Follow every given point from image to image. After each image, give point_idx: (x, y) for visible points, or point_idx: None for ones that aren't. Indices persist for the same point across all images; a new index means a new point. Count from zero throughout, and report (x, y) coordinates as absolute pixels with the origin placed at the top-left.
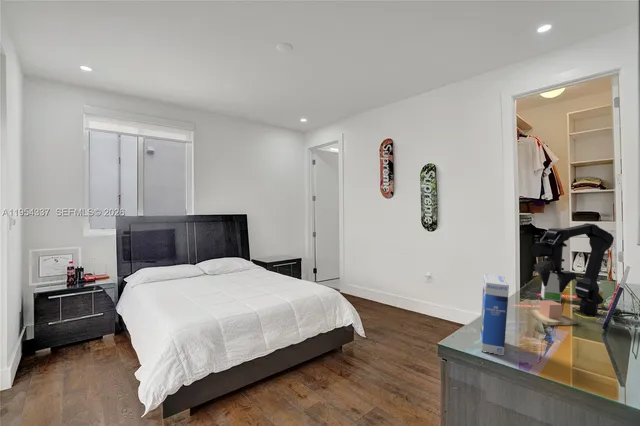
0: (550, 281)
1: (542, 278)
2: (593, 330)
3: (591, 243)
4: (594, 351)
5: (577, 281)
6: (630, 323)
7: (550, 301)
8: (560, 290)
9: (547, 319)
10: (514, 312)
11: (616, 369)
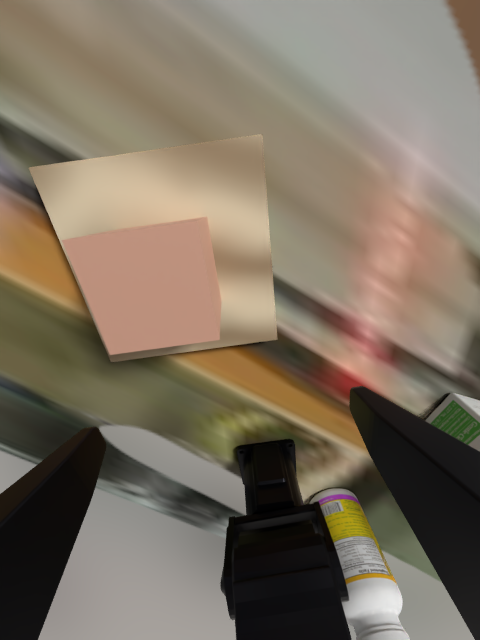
0: None
1: (478, 480)
2: (60, 379)
3: None
4: None
5: None
6: (180, 514)
7: (184, 310)
8: (54, 451)
9: (86, 202)
10: (274, 47)
11: None
